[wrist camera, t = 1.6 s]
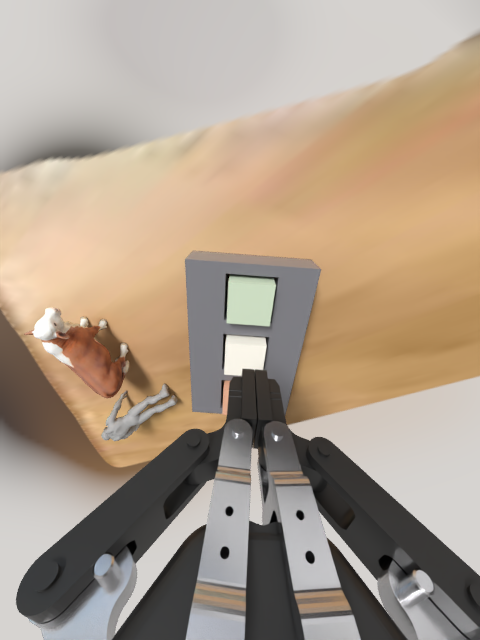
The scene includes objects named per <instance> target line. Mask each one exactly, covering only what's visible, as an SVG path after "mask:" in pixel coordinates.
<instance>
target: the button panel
mask: <svg viewBox="0 0 480 640" xmlns="http://www.w3.org/2000/svg"><path fill="white" fill-rule="evenodd" d="M185 267H186V288H187V309H188V329H189V350H190V371H191V391H192V412H205V413H220V414H222V410H223V389H224V388H223V380H228V381H231V380H232V378H233V376H234V377H242V376H237V375H224V366H225V334H233V335H247V336H261V337H265V338H266V345H267V347H266V354H265V360H264V367H263V370H267V376H268V379H275V380H276V382H277V383H278V384H279V386H280V392H281V397H282V403H283V408H284V414H286V410H287V406H288V402H289V398H290V394H291V390H292V386H293V382H294V378H295V373H296V369H297V365H298V361H299V357H300V353H301V349H302V345H303V341H304V337H305V333H306V329H307V325H308V321H309V317H310V313H311V308H312V304H313V300H314V296H315V292H316V288H317V284H318V280H319V276H320V272H321V269H320V268H319V267H318V266H317V265H316V264H315V263H314V262H313V261H312V260H309V259H296V258H283V257H270V256H256V255H243V254H230V253H217V252H203V251H192V252H191V253H190V255H189V256H188V257H187V258H186V259H185ZM228 274H239V275H252V276H266V277H273V278H274V281H275V284H276V288H275V295H274V301H273V308H272V314H271V321H270V326H257V325H243V324H229V323H227V306H226V305H227V283H228Z"/></svg>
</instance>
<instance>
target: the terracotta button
mask: <svg viewBox="0 0 480 640" xmlns="http://www.w3.org/2000/svg"><path fill="white" fill-rule="evenodd" d="M229 383H230V381H228V380H225V381H224V389H223V410H222V414H223V415H227V408H228V396H229Z"/></svg>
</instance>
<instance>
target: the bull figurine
mask: <svg viewBox="0 0 480 640" xmlns="http://www.w3.org/2000/svg"><path fill="white" fill-rule="evenodd" d="M60 316H61V311H60V310H59V309H57V308H52V307H49V308H46V310H45V315H44V316H43V317H42V318H41V319H40V320H39V321H38V322H37V323H36V325H35V330H33V331H29V332H27V333H25V334H24V335H34V336H35V337H36V338H38V339H41V340H42V343H43V346H44V348H45V350H46V351H47V352H48V353H50V354H52V355H54V356H55V357H56V358H57V359H58V360H59V361H60V362H62V363H64V364H65V365H67V366H68V367H69V368H70V369H71V370H72V371H73V372H75V373H76V374H77V375H78V376H79V377H80V378H81V379H82V380H83V381H84V383H85V384H86V385H88V386H89V387H90V388H91V389H92V390H93V391H95V392H96V393H97V394H99V395H101V396H102V397H104V398H111V397H113V396H114V395H116V394H117V392H118V391H119V389H120V388H121V385H122V383H123V380H124V377H125V375H126V374H127V371H128V369H129V361H126V362H125V356H126V354H127V352H128V351H129V350H127V347H128V345H127V344H126V343H121V347H120V349H121V355H120V357H119V358H116V361H115V362H112V361H111V357H110V353H109V351H108V350H107V349H106V347H104V346H103V345H102V344H100V343H99V342H97V341H96V340H95V339H94V337H95V335H96V334H97V333H98V332H99V330H101V329H104V328H107V326H106V324H107V321H106V320H105V319H101V320H100V322H99V325H98V326H93V327H88V328H85V327H86V326H88V325H89V324H88V318H86V317H81V319H80V320H81V323H80V325H79V324H74V323H71V322H68V321H66V322H64V321H63V319H62V318H61V317H60ZM121 369H122V370H121Z"/></svg>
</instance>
